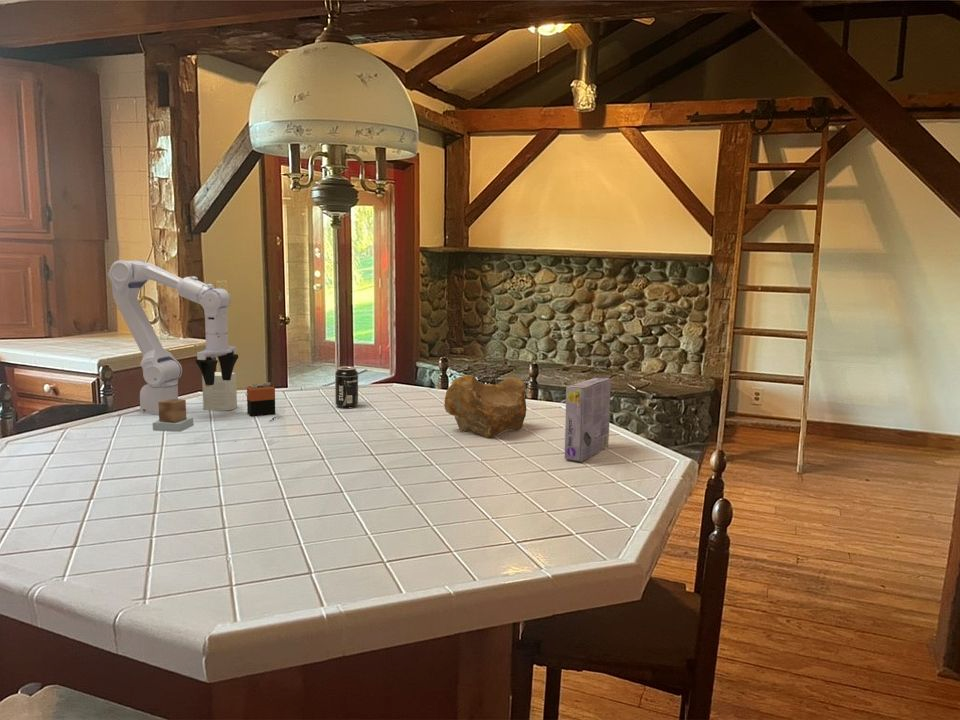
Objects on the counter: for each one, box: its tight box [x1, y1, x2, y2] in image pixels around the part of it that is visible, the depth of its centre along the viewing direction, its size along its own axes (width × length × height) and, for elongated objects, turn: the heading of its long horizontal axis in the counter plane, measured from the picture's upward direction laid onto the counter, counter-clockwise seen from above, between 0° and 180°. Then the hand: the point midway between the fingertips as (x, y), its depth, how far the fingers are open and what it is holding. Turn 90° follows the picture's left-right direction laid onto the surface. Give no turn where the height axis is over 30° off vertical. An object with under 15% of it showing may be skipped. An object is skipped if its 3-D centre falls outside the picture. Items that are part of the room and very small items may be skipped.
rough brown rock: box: [444, 374, 527, 439], centre depth 188 cm, size 23×17×15 cm
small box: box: [201, 371, 238, 411], centre depth 208 cm, size 8×6×10 cm
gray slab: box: [152, 416, 194, 433], centre depth 180 cm, size 7×7×2 cm
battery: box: [246, 382, 276, 420], centre depth 196 cm, size 4×7×10 cm, turn 122°
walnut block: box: [158, 398, 187, 423], centre depth 179 cm, size 4×4×5 cm
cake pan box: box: [564, 377, 612, 463], centre depth 170 cm, size 19×5×18 cm, turn 149°
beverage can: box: [334, 365, 359, 409], centre depth 215 cm, size 7×7×12 cm
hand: (218, 382), depth 193 cm, fingers open, 7 cm apart
